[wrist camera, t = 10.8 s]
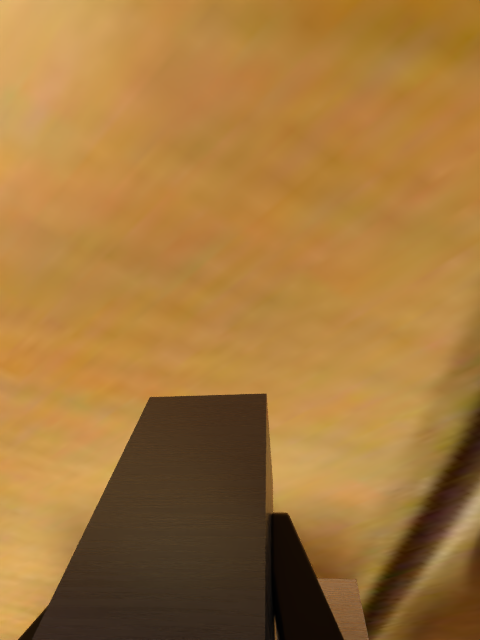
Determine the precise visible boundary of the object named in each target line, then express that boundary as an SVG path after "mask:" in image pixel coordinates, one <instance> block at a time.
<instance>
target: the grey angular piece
mask: <svg viewBox="0 0 480 640" xmlns="http://www.w3.org/2000/svg"><path fill="white" fill-rule="evenodd" d="M272 513H273V479H272V465H271V451H270V437H269V423H268V409H267V395H266V394H240V395H208V396H175V397H150V398H149V400H148V402H147V404H146V406H145V408H144V410H143V413H142V415H141V417H140V419H139V421H138V423H137V425H136V427H135V429H134V431H133V433H132V435H131V437H130V439H129V441H128V443H127V445H126V447H125V449H124V452H123V454H122V456H121V458H120V460H119V462H118V464H117V466H116V468H115V470H114V472H113V474H112V476H111V478H110V480H109V482H108V484H107V486H106V488H105V491H104V493H103V495H102V497H101V499H100V501H99V503H98V505H97V507H96V509H95V511H94V513H93V515H92V517H91V519H90V521H89V523H88V525H87V527H86V529H85V532H84V534H83V536H82V538H81V540H80V542H79V544H78V546H77V548H76V550H75V552H74V554H73V556H72V558H71V560H70V562H69V564H68V566H67V568H66V571H65V573H64V575H63V577H62V579H61V581H60V583H59V585H58V587H57V589H56V591H55V593H54V595H53V597H52V599H51V601H50V603H49V605H48V607H47V610H46V612H45V614H44V616H43V618H42V620H41V622H40V624H39V626H38V628H37V630H36V632H35V634H34V636H33V638H32V640H277V636H276V626H275V613H274V601H273V590H272V578H271V514H272ZM317 579H318V578H317ZM318 582H319V584H320V586H321V588H322V591H323V593H324V595H325V597H326V600H327V602H328V604H329V606H330V609H331V611H332V613H333V615H334V618H335V620H336V622H337V624H338V627H339V629H340V631H341V634H342V636H343V638H344V640H369V639H368V634H367V629H366V625H365V620H364V615H363V610H362V605H361V601H360V596H359V591H358V586H357V581H356V579H318Z"/></svg>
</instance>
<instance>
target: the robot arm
mask: <svg viewBox="0 0 480 640" xmlns="http://www.w3.org/2000/svg"><path fill="white" fill-rule="evenodd" d="M271 578H272V590H273V601H274V613H275V626H276V636H277V640H344V638H343V636H342V634H341V631H340V629H339V627H338V624H337V622H336V620H335V618H334V615H333V613H332V611H331V609H330V606H329V604H328V602H327V600H326V597H325V595H324V593H323V591H322V588H321V586H320V584H319V582H318V579H317V577H316V575H315V573H314V570H313V568H312V566H311V564H310V561H309V559H308V557H307V555H306V552H305V550H304V548H303V546H302V543H301V541H300V539H299V537H298V534H297V532H296V530H295V528H294V525H293V523H292V521H291V518H290V516H289V515H288V514H287V513H272V514H271ZM47 607H48V606H47ZM47 607H46V608H45V610H44V611H43V612H42V613H41V614H40V615H39V616H38V618H37V619H36V620H35V621H34V622H33V623H32V624H31V626H30V627H29V628H28V629H27V630H26V631H25V632H24V634H23V635H22V636H21V637H20V638H19V639H18V640H32V638H33V636H34V634H35V632H36V630H37V628H38V626H39V624H40V622H41V620H42V618H43V616H44V614H45V612H46V610H47Z"/></svg>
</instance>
